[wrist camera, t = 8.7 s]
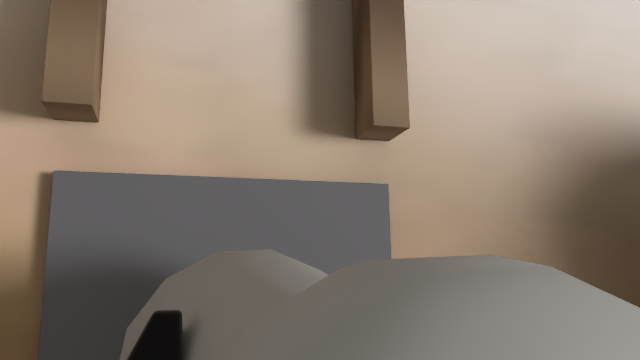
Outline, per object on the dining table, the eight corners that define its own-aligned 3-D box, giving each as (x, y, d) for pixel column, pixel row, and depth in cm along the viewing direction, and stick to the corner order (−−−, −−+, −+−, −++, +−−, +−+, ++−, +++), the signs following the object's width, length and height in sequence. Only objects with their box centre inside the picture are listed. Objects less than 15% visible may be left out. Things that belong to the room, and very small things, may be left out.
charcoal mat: (397, 516, 16) (401, 520, 16) (22, 570, 13) (19, 576, 13) (384, 185, 18) (388, 184, 17) (55, 172, 15) (53, 170, 15)
